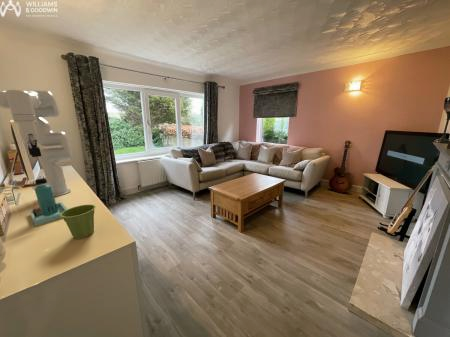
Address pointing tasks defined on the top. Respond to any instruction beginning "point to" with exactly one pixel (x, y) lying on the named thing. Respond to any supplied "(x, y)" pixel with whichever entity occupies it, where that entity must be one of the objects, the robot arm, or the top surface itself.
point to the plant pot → (80, 220)
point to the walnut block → (37, 211)
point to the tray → (45, 219)
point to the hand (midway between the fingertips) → (35, 155)
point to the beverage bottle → (45, 198)
